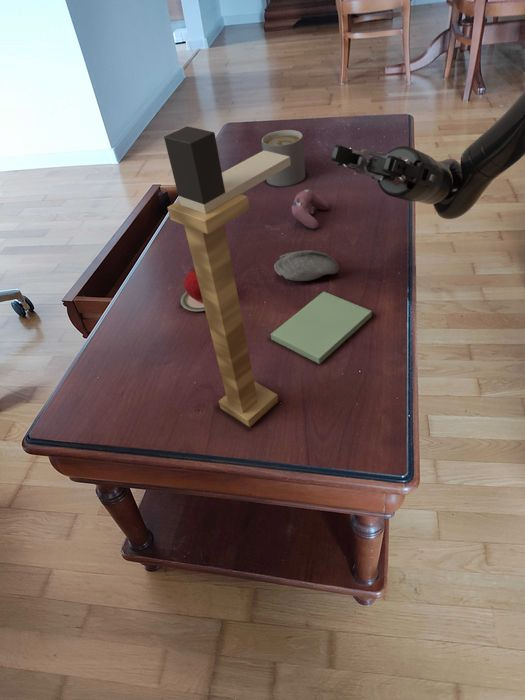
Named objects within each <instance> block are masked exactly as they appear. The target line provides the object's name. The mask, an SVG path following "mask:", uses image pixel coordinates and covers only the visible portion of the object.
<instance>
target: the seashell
mask: <svg viewBox="0 0 525 700" xmlns="http://www.w3.org/2000/svg"><path fill="white" fill-rule="evenodd" d="M273 268H274V271H275V273H276V274H277V275H279V276H283V278H284V279H286V280H290V281H297V282H308V281H313V280H317V279H320V278H322V277H324V276H327V275H335V274H337V273H338V272H339V270H340V266H339V264H338V262H337V260H335V259H334V258H333V257H332V256H331V255H329V254H328V253H325V252H323V251H318V250H313V249H308V250H307V249H306V250H300V251H292V252H288V253H284V254H282V255H280V256H279V258H278V260H277V261H276V262H274V265H273Z"/></svg>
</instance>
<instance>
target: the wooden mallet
mask: <svg viewBox="0 0 525 700" xmlns="http://www.w3.org/2000/svg"><path fill="white" fill-rule="evenodd" d="M163 139H164V143H165V147H166V151H167V155H168V159H169V163H170V167H171V171H172V175H173V179H174V185H175V188H176V192H177V197H178V201H180V205H182V206H185V207H188V208H190V209H193V210H196V211H199V212H202V213H204V214H207V213H209V212H210V211H212V210H214V209H216V208H217V207H219V206H221V205H222V204H224V203H226V202H228V201H229V200H231V199H233V198H235V197H236V196H238V195H240V194H241V195H242V194H243V193H245V192H247V191H249V190H250V189H252V188H254V187H255V186H257V185H259V184H260V183H262V182H264V181H266V179H267V178H269V177H271V176H273V175H274V174H276V173H278V172H280V171H281V170H283V169H285V168H286V167H288V166H290V165H291V164H290V156H285V155H281V154H277V153H272V152H268V151H263V150H261V151H260V152H258V153H256V154H254V155H252V156H251V157H248V158H246V159H245V160H243V161H241V162H239V163H237V164H236V165H234V166H232V167H230V168H228V169H226V170H224V171H223V172H222V167H221V161H220V156H219V149H218V145H217V144H218V143H217V138H216V133H215V131H211V130H206V129H201V128H197V127H192V126H188V125H187V126H184V127H182V128H180V129H178V130H176V131H173V132H171V133H169V134H167V135H165V136H163Z"/></svg>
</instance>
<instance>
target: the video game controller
mask: <svg viewBox="0 0 525 700" xmlns="http://www.w3.org/2000/svg"><path fill="white" fill-rule="evenodd" d="M314 208H315V209H318V210H321V211H327V209H329V204H328V202H327V201H326V199H324V198H322V197H321V196H319V195H318V194H317V193H316V192H315V191H314V190H312V189H310V188H308V189H303V190H302V191H299V192H298V193H297V194H296V196H295V197H294V201H293V204H292V205H291V213H292V215H293V217H294V219H296V220H297V221H299V222H300V223H301V224H302V225H304V226H305V227H307V228H309V229H312V230H317V229H318V228H319V222H318V220H317V219H316V218H315V217H314V216H312V215H314V213H315V209H314Z"/></svg>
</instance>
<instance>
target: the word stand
mask: <svg viewBox="0 0 525 700" xmlns="http://www.w3.org/2000/svg"><path fill="white" fill-rule="evenodd" d="M247 211H250V203H249V197H248V196H247V195H244V194H242V193H241V194H240V195H238V196H236V197H235V198H233V199H231V200H229V201H228V202H226V203H224V204H222V205H221V206H219V207H217V208H216V209H214V210H212V211H210V212H209V213H207V214H204V213H202V212H199V211H196V210H193V209H190V208H188V207H185V206H182V205H180V201H179V200H178V201H175V202H173V203H172V204H170V205H169V206H167V212H168V215H169V219H170V221H173V222H176V223H178V224H180V225H183V227H184V230H185V235H186V239H187V243H188V246H189V247H188V248H189V251H190V255H191V259H192V263H193V267H194V269H195V271H196V275H197V279H198V283H199V287H200V292H201V296H202V300H203V304H204V308H205V311H204V312H205V315H206V316H205V317H206V320H207V324H208V327H209V328H208V329H209V331H210V335H211V340H212V343H213V348H214V352H215V357H216V360H217V364H218V368H219V372H220V375H221V376H220V377H221V380H222V384H223V388H224V392H225V393H224V394H225V395H224V396H223V397H221V398H220V399H219V400H218V404H219V408H220V409H221V410H223V411H224V412H225V413H227V414H229V415H230V416H231V417H233V418H235V419H236V420H237V421H239V422H240V423H242V424H243V425H245V426H247V427H248V428H251V427H252V426H253V425H254V424H256V422H258V421H259V420H261V418H262V417H263V416H264V415H265V414H267V413H268V412H269V411H270V410H271V409H272V408H273V407H275V405H276V404H278V402H279V397H278V394H277V393H276V392H274V391H272V390H270V389H268V388H267V387H265V386H263V385H262V384H260V383H259V382H257V381H255V379H254V374H253V368H252V363H251V358H250V354H249V353H250V352H249V347H248V343H247V342H248V341H247V337H246V332H245V326H244V322H243V315H242V310H241V306H240V305H241V304H240V300H239V295H238V290H237V284H236V279H235V274H234V268H233V263H232V257H231V252H230V247H229V242H228V236H227V230H226V226H225V225H227V223H229V222H231V221H233V220H235V219H236V218H238V217H240V216H241V215H242V214H244V213H246V212H247Z"/></svg>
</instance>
